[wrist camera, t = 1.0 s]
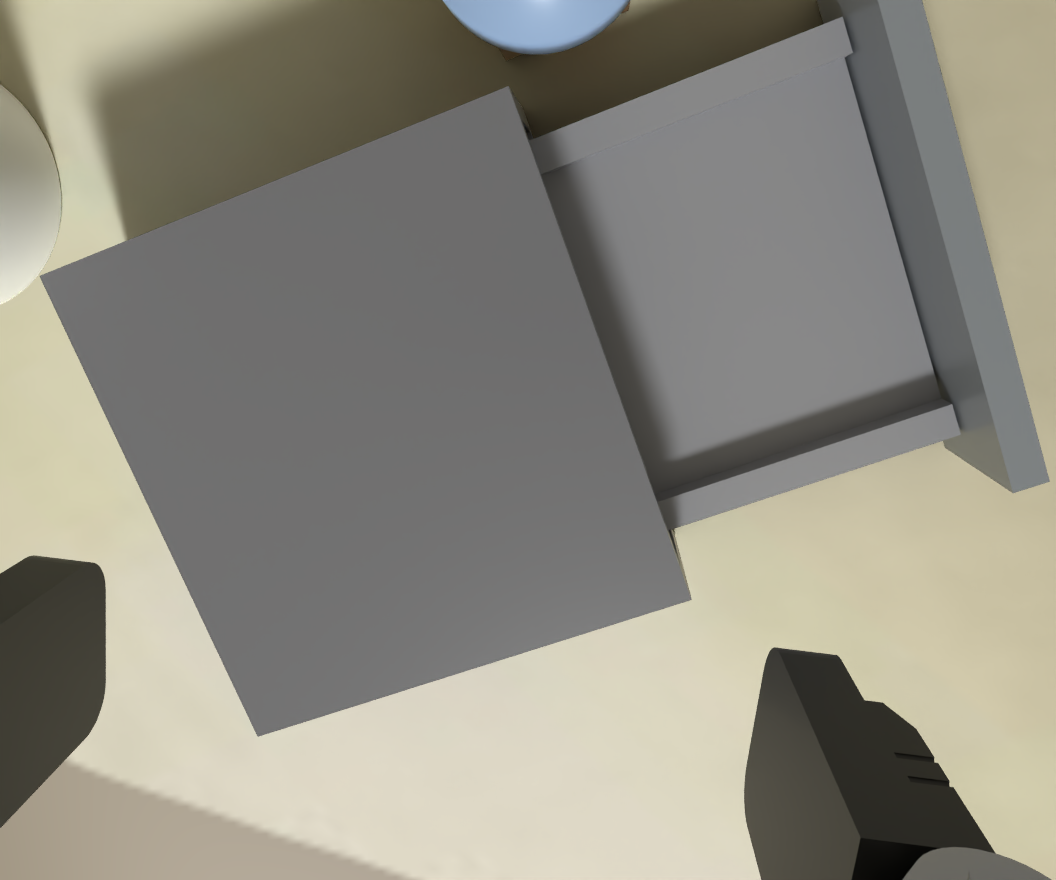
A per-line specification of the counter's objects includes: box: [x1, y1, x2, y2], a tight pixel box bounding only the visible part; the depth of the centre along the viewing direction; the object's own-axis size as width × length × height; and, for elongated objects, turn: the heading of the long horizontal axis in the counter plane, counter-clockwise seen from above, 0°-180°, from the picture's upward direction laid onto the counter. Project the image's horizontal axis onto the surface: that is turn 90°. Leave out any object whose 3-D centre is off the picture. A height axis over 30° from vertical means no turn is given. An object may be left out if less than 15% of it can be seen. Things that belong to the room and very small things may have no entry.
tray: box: [529, 0, 1050, 530], centre depth 28 cm, size 14×15×5 cm
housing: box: [40, 86, 692, 736], centre depth 30 cm, size 14×15×6 cm
